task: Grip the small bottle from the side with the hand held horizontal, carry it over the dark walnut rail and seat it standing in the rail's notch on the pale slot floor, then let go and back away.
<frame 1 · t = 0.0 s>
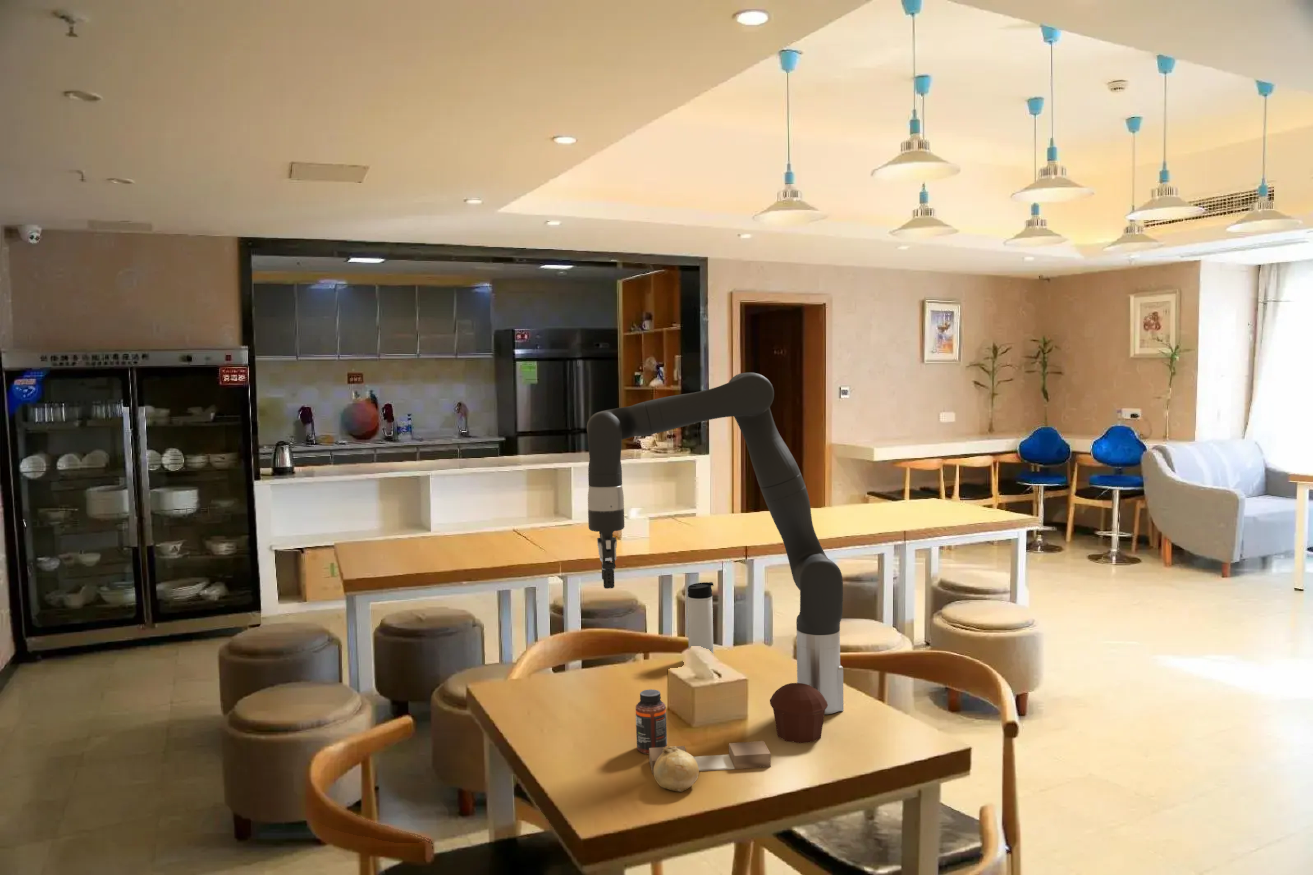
hand: (608, 583, 197), 29 cm above the table, tool pointing down, fingers open, 8 cm apart
onion: (676, 787, 166), on the table
rail: (709, 763, 175), on the table
travel mug: (701, 661, 239), on the table
muffin: (798, 735, 189), on the table
supplement bottle: (651, 750, 183), on the table
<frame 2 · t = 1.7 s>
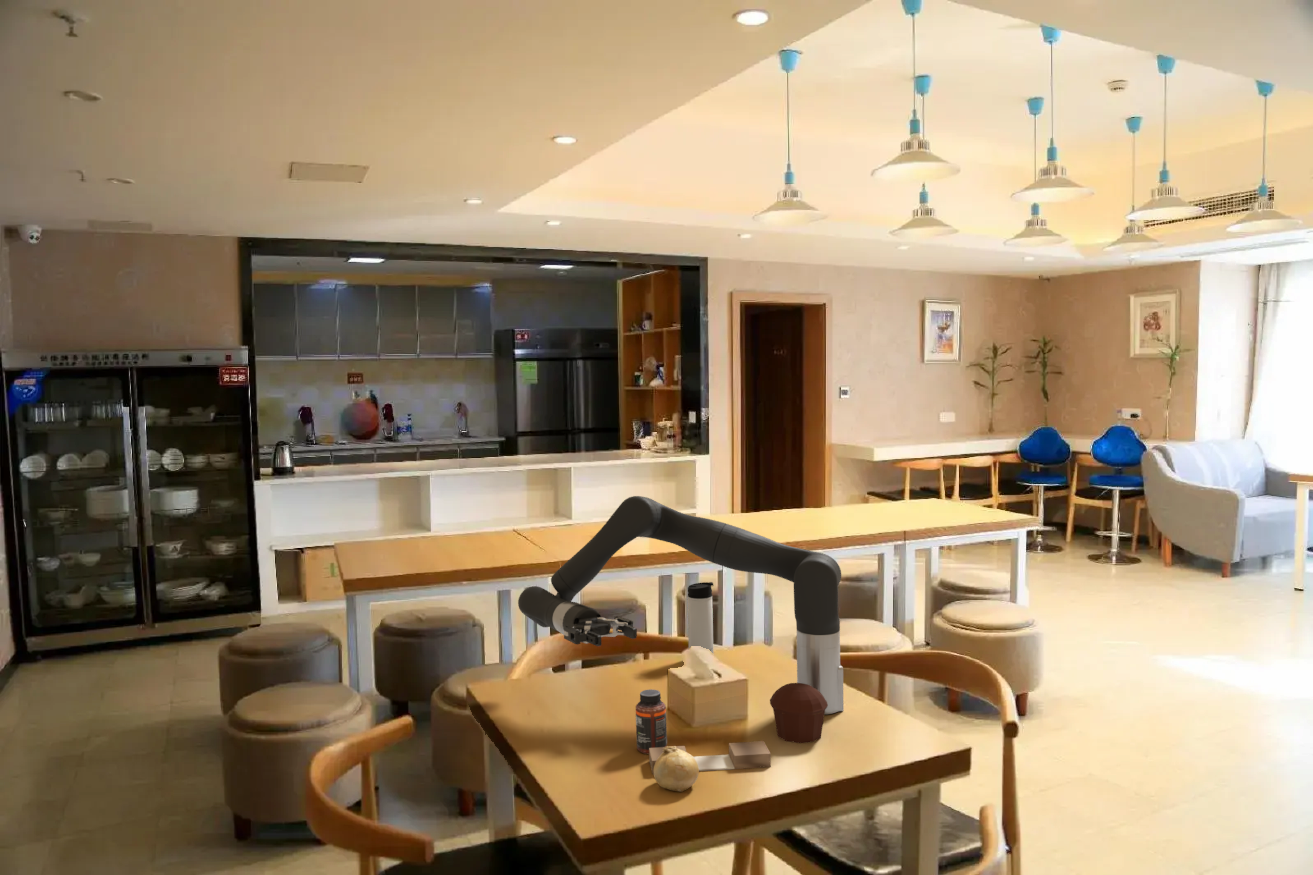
hand: (617, 637, 191), 20 cm above the table, tool horizontal, fingers open, 8 cm apart
nothing on the table moved.
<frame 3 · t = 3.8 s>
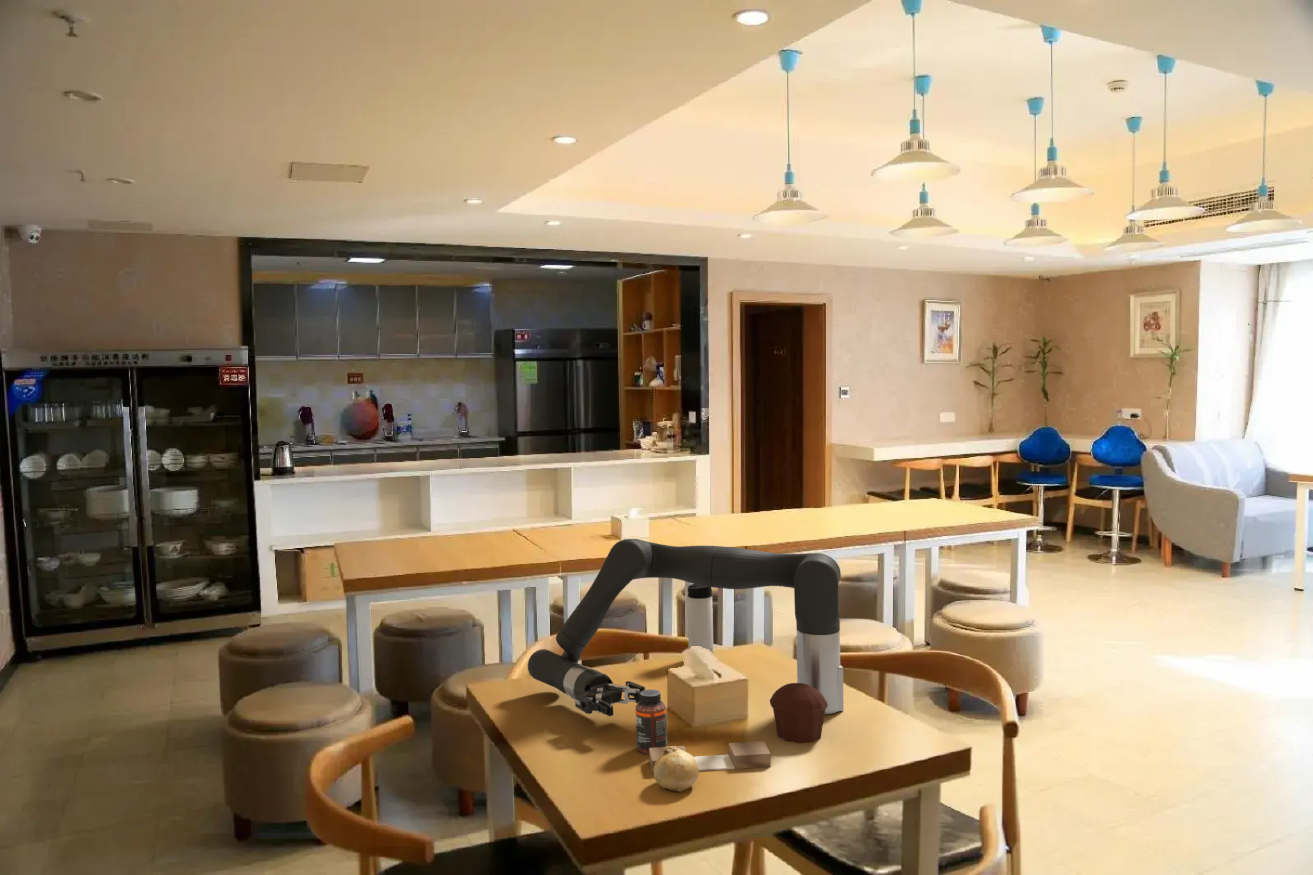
hand: (629, 706, 189), 6 cm above the table, tool horizontal, fingers open, 8 cm apart
nothing on the table moved.
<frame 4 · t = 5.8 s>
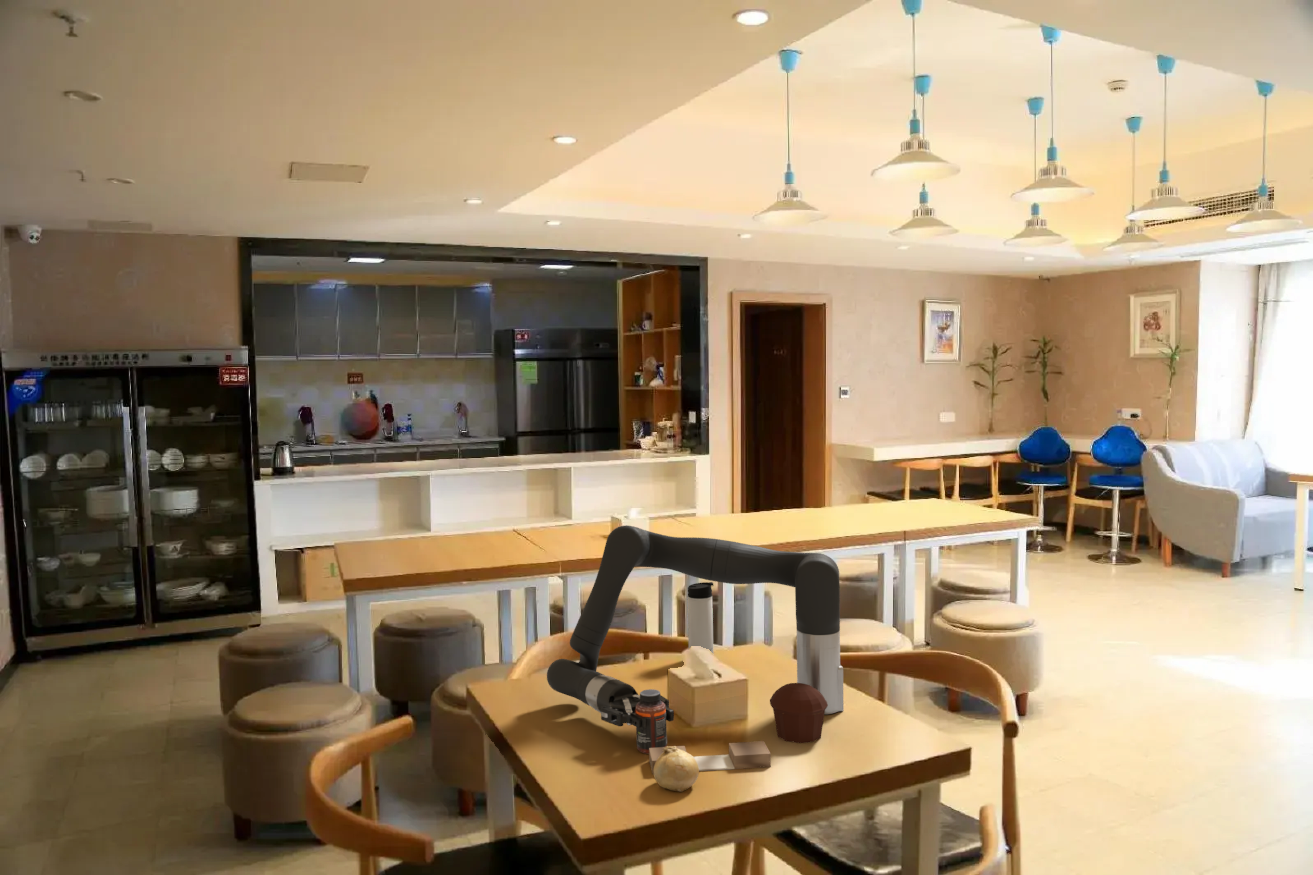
hand: (658, 720, 180), 7 cm above the table, tool horizontal, fingers closed on supplement bottle, 6 cm apart
supplement bottle: (651, 750, 183), on the table, touching gripper
everything else where it was.
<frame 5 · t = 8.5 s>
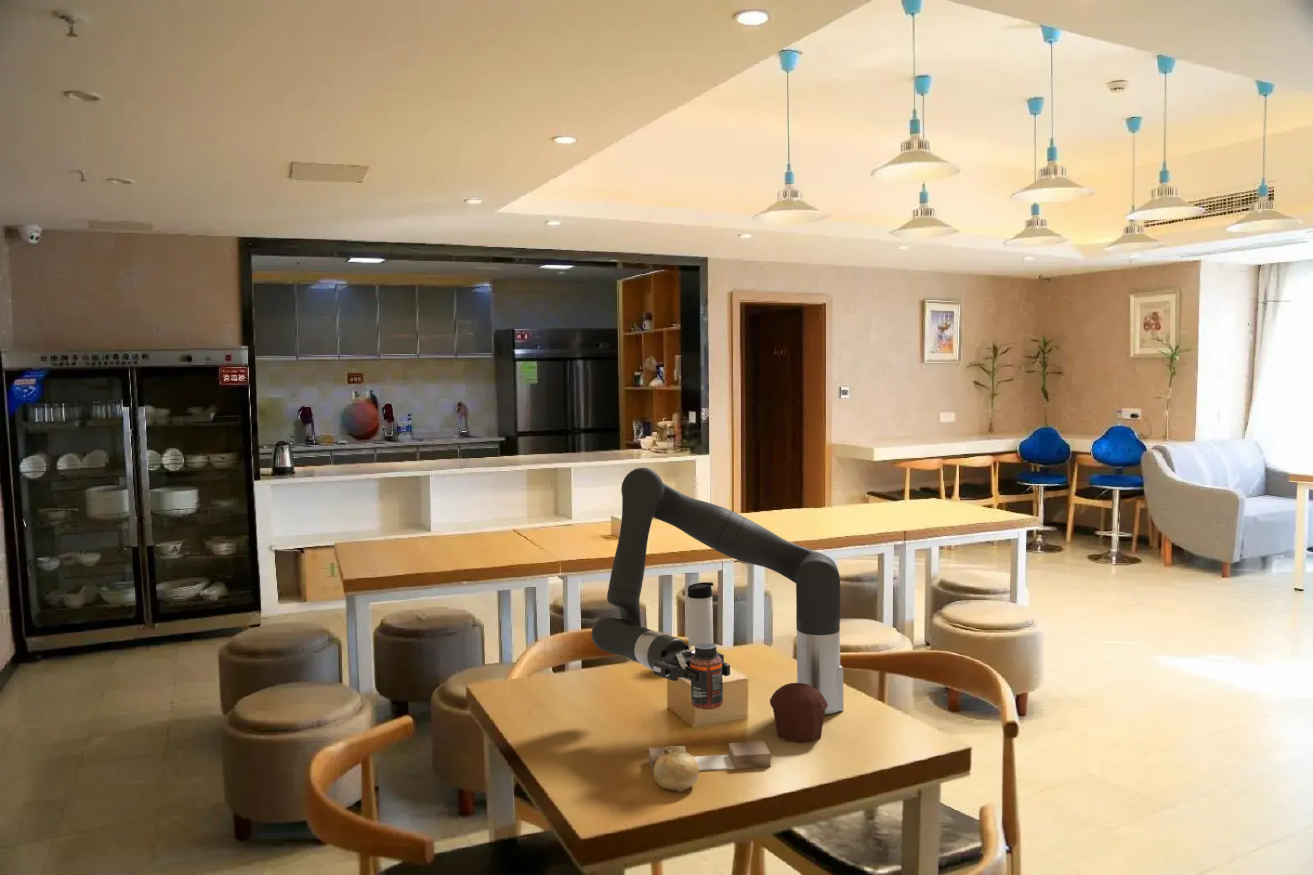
hand: (714, 674, 172), 18 cm above the table, tool horizontal, fingers closed on supplement bottle, 6 cm apart
supplement bottle: (707, 706, 175), point 11 cm above the table, touching gripper
everything else where it was.
when the fingers open (8 cm above the table, at t = 11.3 s): supplement bottle drops 1 cm, resting on rail.
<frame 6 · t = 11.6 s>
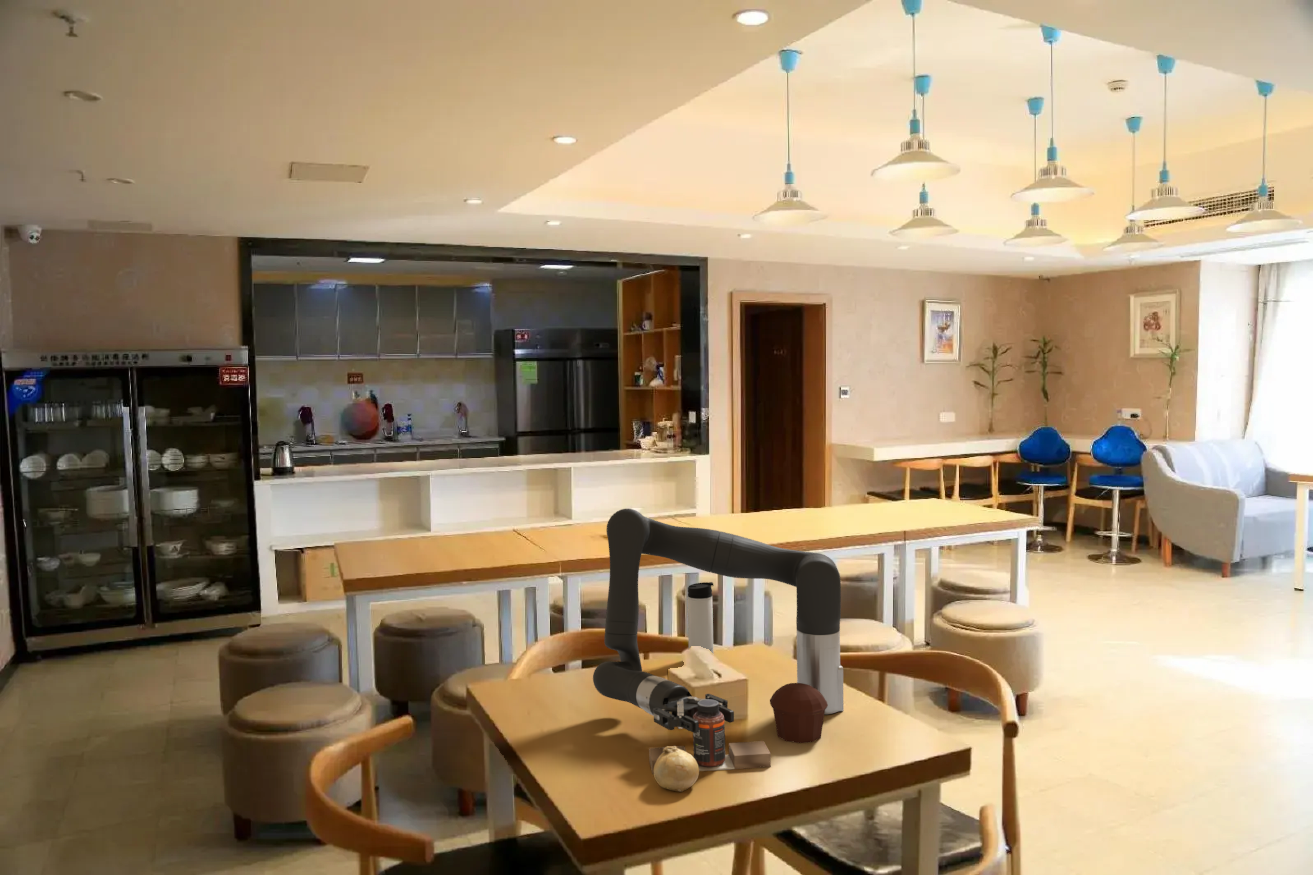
hand: (715, 722, 173), 9 cm above the table, tool horizontal, fingers open, 8 cm apart
supplement bottle: (709, 762, 176), resting on rail
everything else where it was.
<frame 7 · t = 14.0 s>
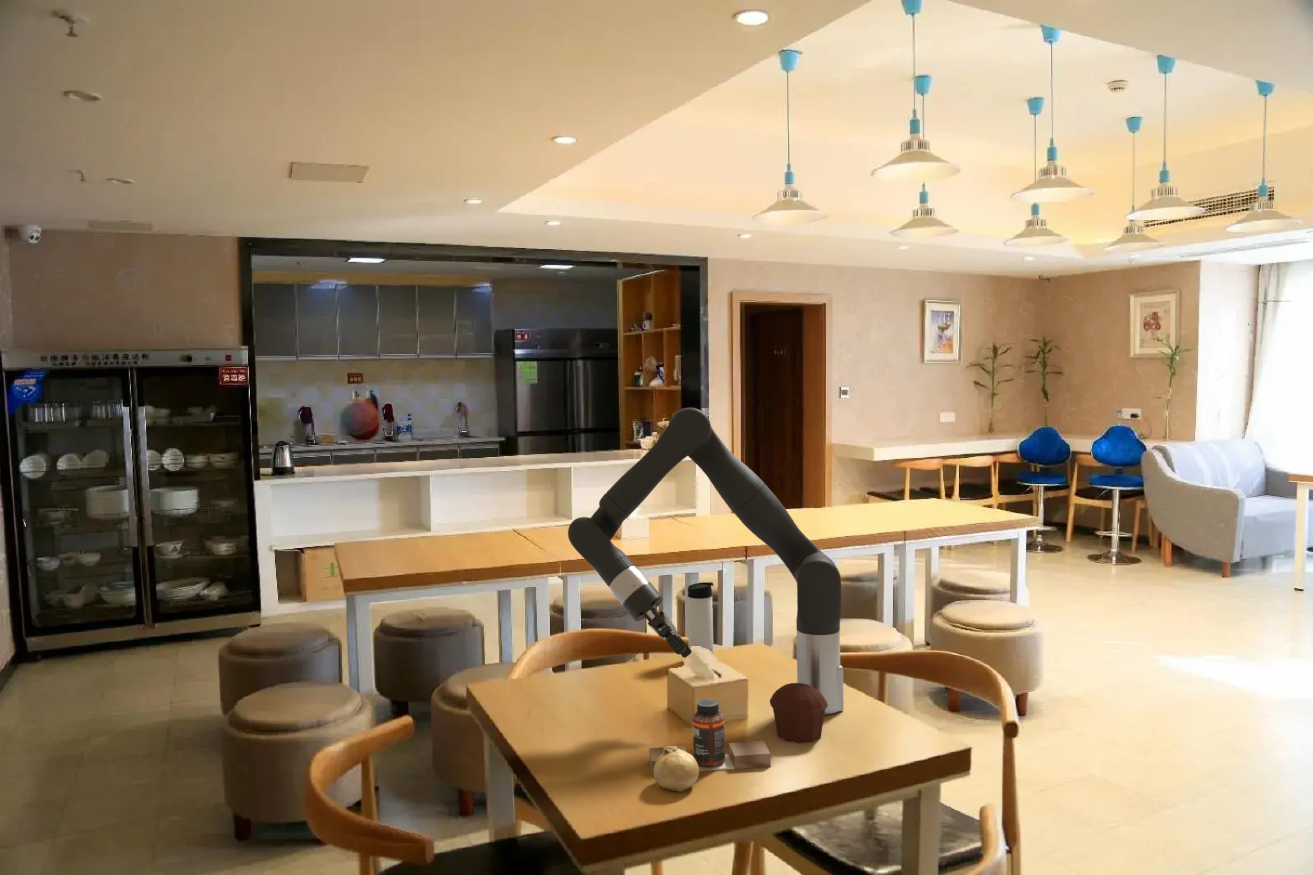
hand: (685, 653, 190), 16 cm above the table, tool tilted 45°, fingers open, 8 cm apart
nothing on the table moved.
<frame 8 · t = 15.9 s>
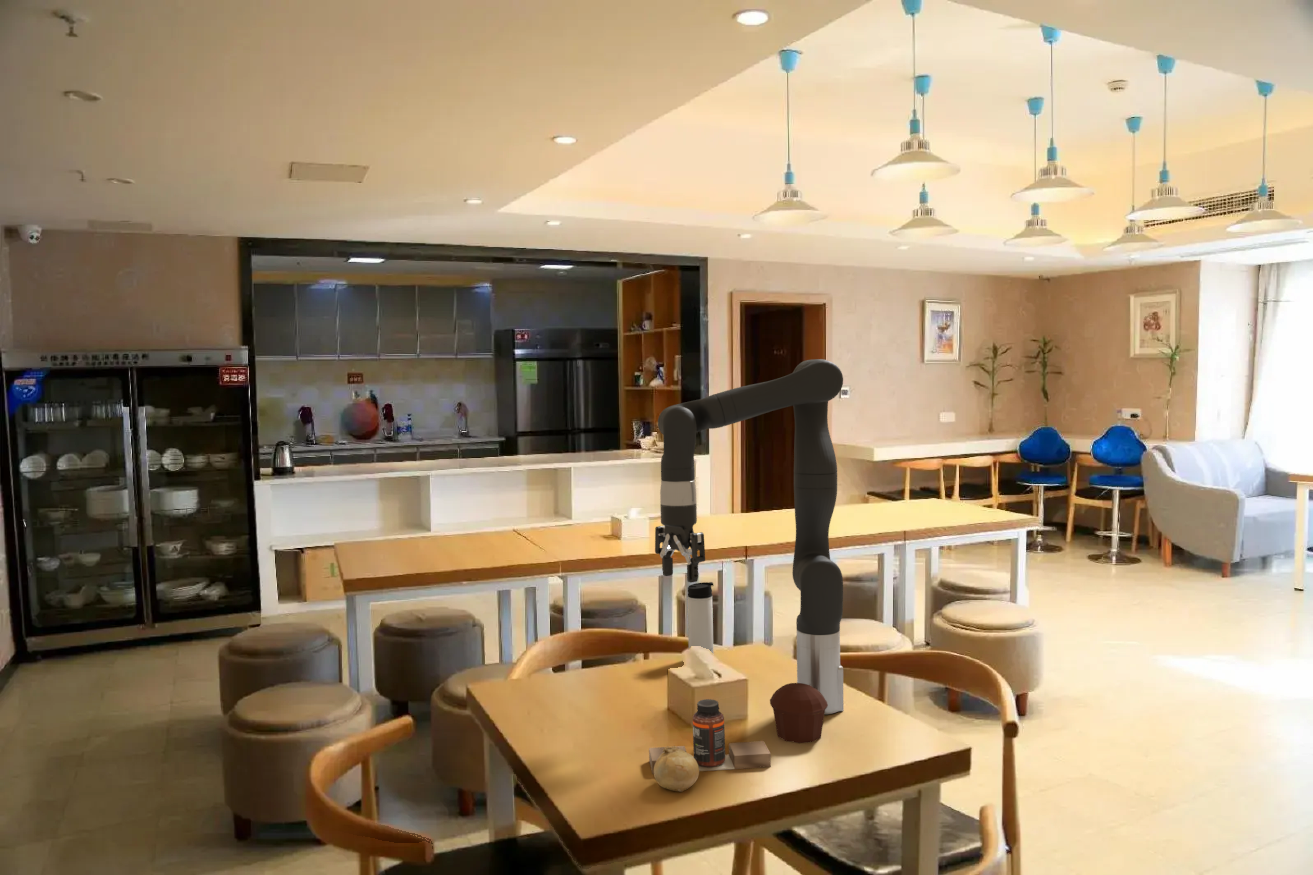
hand: (679, 578, 197), 30 cm above the table, tool pointing down, fingers open, 8 cm apart
nothing on the table moved.
at the end: supplement bottle 0.2 cm off-centre on the rail, point 0.1 cm above the rail's base; supplement bottle tilted 0°; the gripper is holding nothing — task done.
